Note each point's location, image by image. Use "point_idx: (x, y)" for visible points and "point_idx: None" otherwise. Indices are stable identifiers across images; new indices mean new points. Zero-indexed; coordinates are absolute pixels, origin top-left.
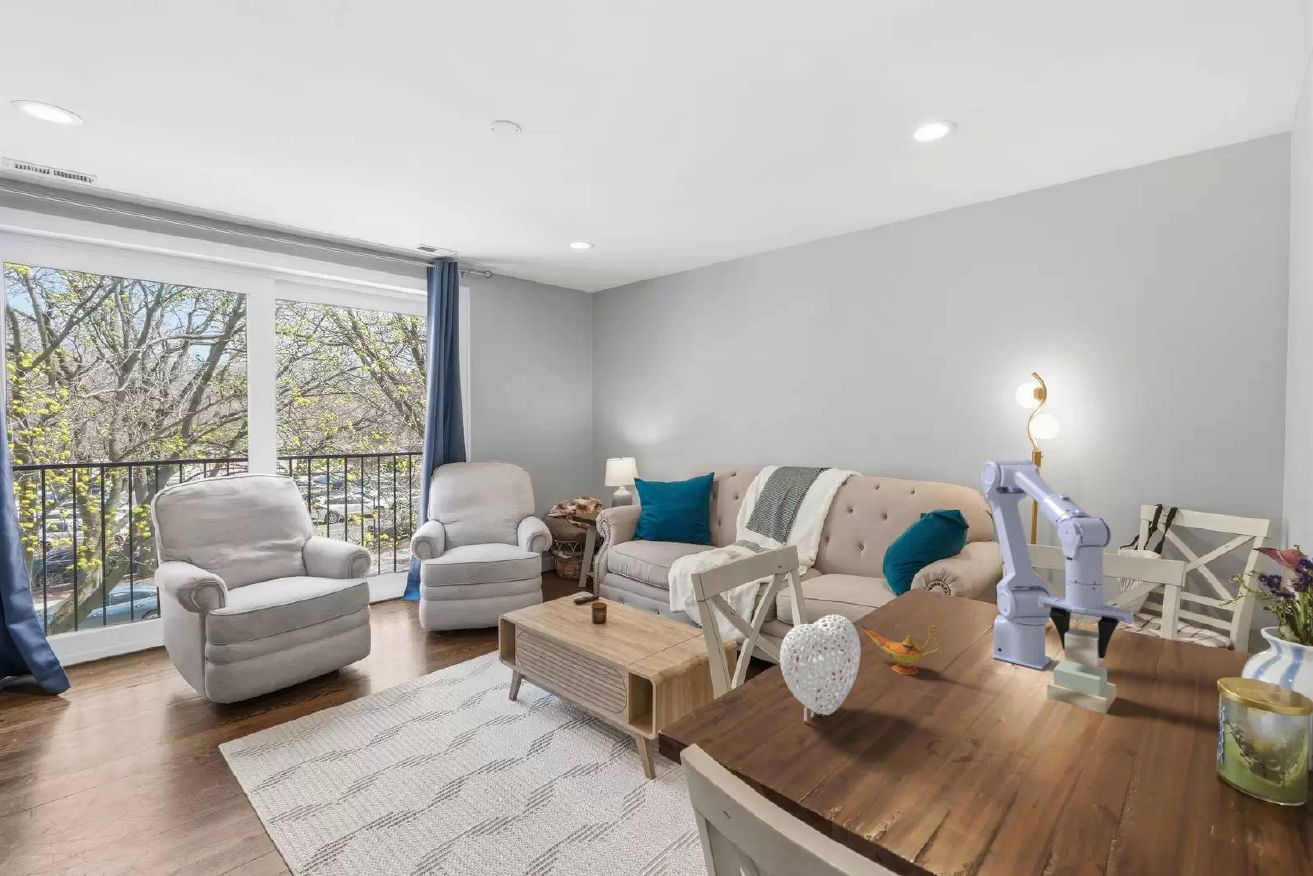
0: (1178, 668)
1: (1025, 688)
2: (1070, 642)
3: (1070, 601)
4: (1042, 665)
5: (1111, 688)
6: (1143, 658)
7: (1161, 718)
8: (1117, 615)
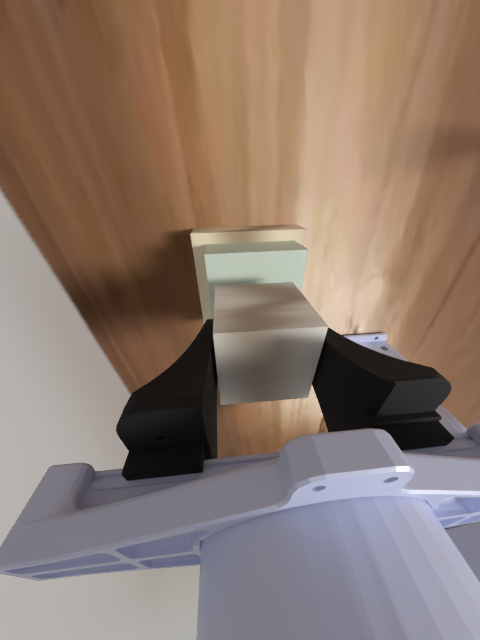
0: None
1: (335, 241)
2: (296, 311)
3: (445, 551)
4: None
5: (204, 307)
6: (220, 438)
7: (127, 284)
8: (88, 513)
